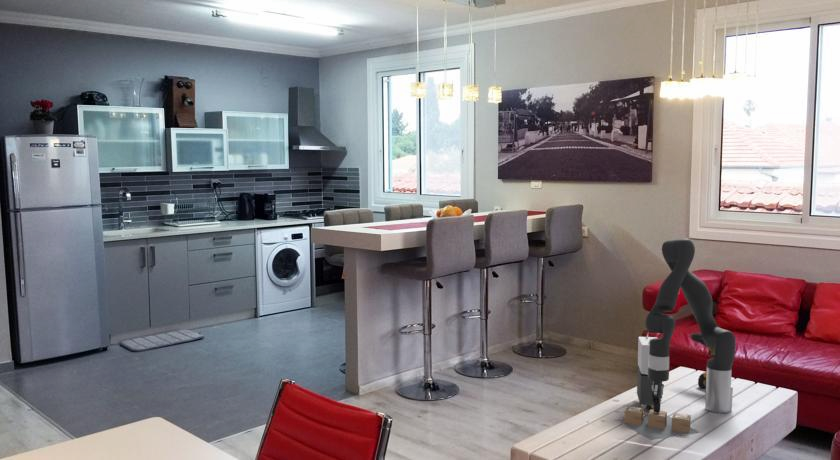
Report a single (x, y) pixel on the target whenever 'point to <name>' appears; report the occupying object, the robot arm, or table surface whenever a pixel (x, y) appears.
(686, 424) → the marked block 2
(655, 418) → the plain block
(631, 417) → the marked block 1
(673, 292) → the robot arm
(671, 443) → the table surface
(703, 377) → the power drill
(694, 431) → the mat
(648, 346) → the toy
